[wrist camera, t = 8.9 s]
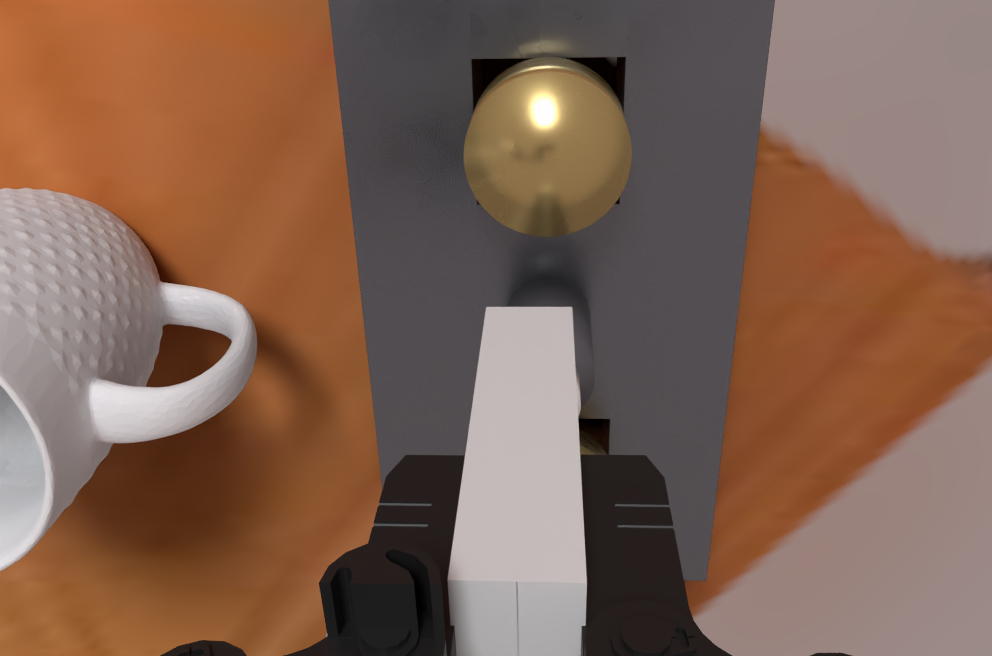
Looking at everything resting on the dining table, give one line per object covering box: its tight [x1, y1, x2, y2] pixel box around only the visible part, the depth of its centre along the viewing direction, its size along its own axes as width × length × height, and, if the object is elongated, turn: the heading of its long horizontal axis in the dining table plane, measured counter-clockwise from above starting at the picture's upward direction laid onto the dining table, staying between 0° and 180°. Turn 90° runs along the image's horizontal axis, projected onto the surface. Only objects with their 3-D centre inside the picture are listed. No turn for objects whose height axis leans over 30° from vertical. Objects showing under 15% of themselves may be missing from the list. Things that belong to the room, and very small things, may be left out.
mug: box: [0, 188, 257, 571], centre depth 32 cm, size 15×11×13 cm
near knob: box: [464, 57, 632, 237], centre depth 30 cm, size 5×5×6 cm
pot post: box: [507, 280, 595, 417], centre depth 30 cm, size 3×3×6 cm
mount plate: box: [328, 0, 775, 581], centre depth 34 cm, size 14×26×4 cm, turn 1°
